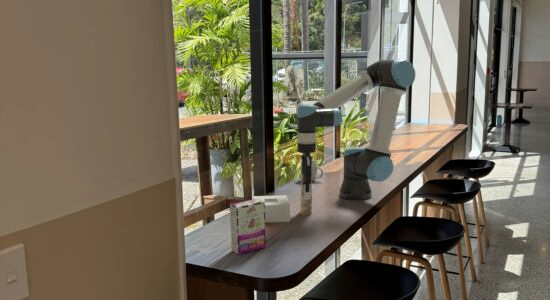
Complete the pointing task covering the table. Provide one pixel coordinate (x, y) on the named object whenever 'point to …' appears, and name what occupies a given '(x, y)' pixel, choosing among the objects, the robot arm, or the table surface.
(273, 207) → the socket
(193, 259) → the table surface
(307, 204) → the peg
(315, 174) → the mug
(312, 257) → the table surface
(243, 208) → the candy bar box
